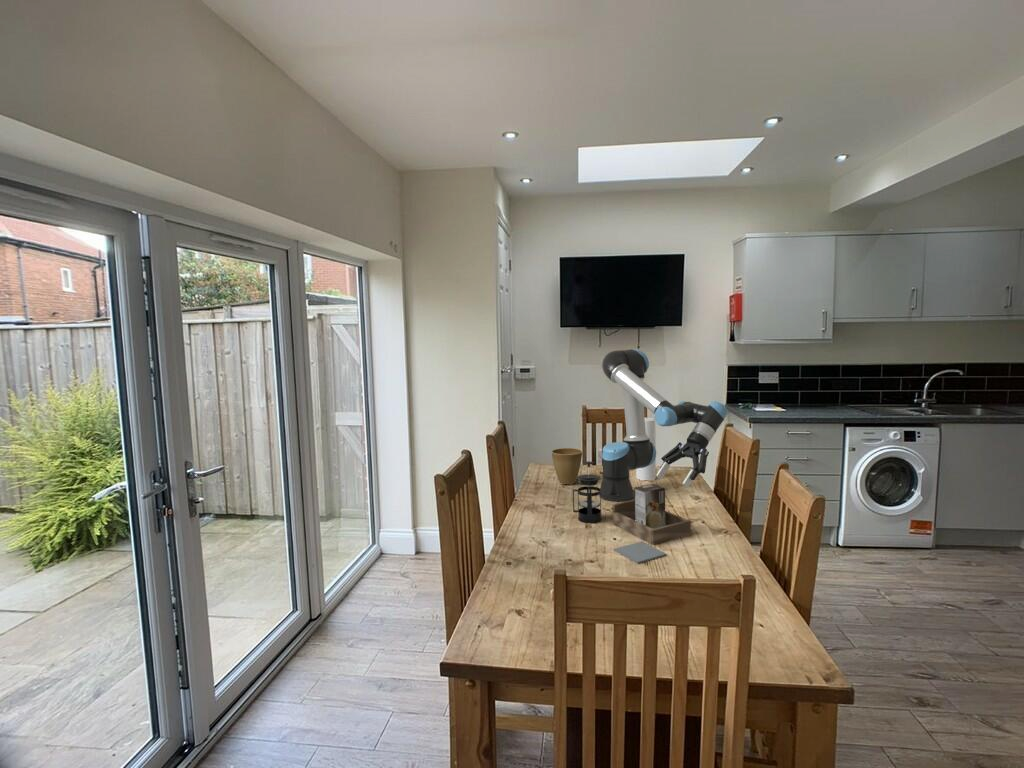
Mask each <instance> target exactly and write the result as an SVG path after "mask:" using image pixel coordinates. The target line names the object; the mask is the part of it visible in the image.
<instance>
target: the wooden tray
mask: <svg viewBox="0 0 1024 768" xmlns="http://www.w3.org/2000/svg"><path fill="white" fill-rule="evenodd" d="M665 519H666V526H663V527H659V528H655V529H653V528H650V527H648V526H646V525H644V524H642V523H639V522H637V521H635V520H636V513H635V499H634V498H633V499H630V500H626V501H620V502H617V503H612V525H613V526H614V525H615V527H616V526H617V527H616V528H618V527H619V529H621V530H622V531H625V532H627V533H629V534H631V535H633V536H635V537H637V538H639V539H641V540H642V541H644V542H646V543H649V544H651V545H653V546H654V545H658V544H660V543H664V542H668V541H672V540H676V539H680V538H683V537H687V536H690V534H691V533H692V531H691V530H692V529H691V527H692V526H691V522H692V521H691V520H689V519H686V518H684V517H681V516H679V515H677V514H674V513H672V512H669V511H667V510H665ZM691 535H692V534H691Z"/></svg>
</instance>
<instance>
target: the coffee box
mask: <svg viewBox="0 0 1024 768" xmlns="http://www.w3.org/2000/svg"><path fill="white" fill-rule="evenodd" d="M634 498H635V513H636V521H637V522H639V523H642V524H644V525H646V526H648V527H650V528H653V529H655V528H659V527H663V526H666V519H665V511H666V487H665V486H661V485H658V484H655V483H651V484H646V485H640V486H636V487H634Z"/></svg>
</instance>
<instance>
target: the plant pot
mask: <svg viewBox="0 0 1024 768" xmlns="http://www.w3.org/2000/svg"><path fill="white" fill-rule="evenodd" d="M582 456H583V450H582V449H579V448H574V447H573V448H571V447H563V448H562V447H561V448H557V449H556V448H555V449H553V450H551V458H552V462H553V467H554V471H555V473H556V477H557V479H558V482H559V484H560V483H562V484H573V485H575V484H576V481H577V480H578V478H577V477H578V476H579V471H580V468H581V463H582V458H583V457H582ZM574 483H575V484H574ZM562 484H561V485H562Z"/></svg>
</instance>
